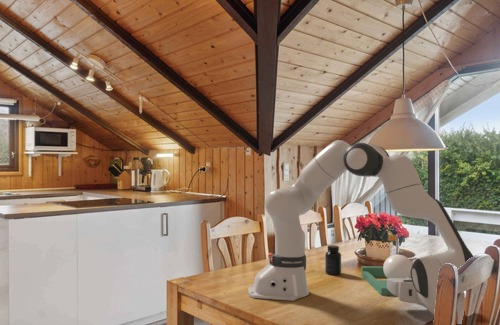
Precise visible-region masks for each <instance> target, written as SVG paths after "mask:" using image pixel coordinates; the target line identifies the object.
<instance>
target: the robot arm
mask: <svg viewBox="0 0 500 325" xmlns="http://www.w3.org/2000/svg"><path fill="white" fill-rule="evenodd" d="M347 171H348V172H350V173H351V174H352V175H354V176H357V177H364V178H370V177H373V178H374V177H376V178H377V177H378V179H379V180H380V181H381V182H382V185H383V188H384V190H385V194H386V197H387V200H388V202H389V204H390V207H391V209H392V210H393V211H394V212H395V213H397V214H399V215H401V216H403V217H408V218H412V219H423V220H426V221H429V222H431V223H432V224H434V226H436V229H437V230H438V232H439V235H440V236H441V238H442V239H443V242H444V243H445V245H446V247H447V250H446V251H442V252H439V253H434V254H429V255H426V256H423V257H419V258H416V259H415V260H414V261H413V262H412V264H413V265H412V268H411V277H406V278H388V279H387V278H386V280H387V289H388V290H389V291H390V292H391V293H392V294H394V295H393V296H395V297H398V300H399V301H401V302H404V303H410V304H416V305H419V306H420V307H424V308H426V310H427V311H428V312H430V313H431V314H432V316H433V315H434V309H435V300H436V289H437V280H438V273H439V269H440V267H441V266H442V265H443V264H445V263H451V264H454V265H455V266H456V267H457V269H458V268H460V266H462V265H463V264H464V263H465V262H466V261H467V260H468V259H469V258H471V257H473V256H474V255H473V253H472V252H471V250H470V249H469V248H468V246H467V245H466V244H465V241H464V239H463V238H462V236H461V234H460V233H459V231H458V229H457V227H456V225H455V224H454V222H453V220H452V219H451V217H450V215H449V214H448V211H447V210H446V208H445V207H444V205H443V204H442V203H441V201H440V200H438V199H437V198H434V197H431V196H430V194H428V192H427V191H426V190H425V188H424V186H423V184H422V180H421V178H420V176H419V173H418V171H417V169H416V167H415V166H414V163H413V162H412V161H411V159H410V158H409V157H408V156H406V155H404V154H394V155H389V153H388V152H387V151H386V150H385V149H384V147H381V146H379V145H376V144H373V143H366V142H358V143H354V144H352V145H351V144H350V143H348V142H346V141H345V140H340V139H337V140H334V141H332V142H331V143H329V144H328V145H326V146H325V147H324V148H323V149H322V150H321V151H319V152H318V153H317V154H316V155H315V156H314V157H313V158H312V159H311V160H310V161H309V162H308V163H307V164H306V165H305V166H304V167H303V168H302V169H301V170H300V172H299V176H298V177H297V179H296V181H295V182H294V183H293V184H292V185H290V186H288V187H281V188H277V189H275V190H273V191H271V192H270V193H268V195H267V196H266V198H265V202H264V203H265V204H264V205H265V206H264V207H265V210H266V212H267V214H268V215H269V216H270V218H271V220H272V224H273V229H274V253H273V252H269V253H268V254H267V256H268V257H267V258H268V259H269V263H268V264H267V265H266V266H265V267H264V268H262V269H261V270H259V271H258V272H256V275H255V278H254V281H253V283H252V284H251V285H249V286H248V289H247V292H248V293H247V294H248V295H249V297H251V298H253V299H266V300H278V301H292V302H293V301H296V300H298V299H301V298H304V297H306V296H308V295H309V293H310V291H309V288H308V282H307V276H306V270H307V255H306V251H305V250H306V235H305V234H306V233H305V231H304V230H303V229H302V228H303V227H302V224H301V220H300V216H303V215H305V214H307V213H308V212H309V211H310V210H311V209H312V208H313V206H314V205H315V203H316V202H317V201H318V200H319V198H320V197H321V195H322V194H323V193H324V192H326V190H327V189H328V188H330V187H331V186H332V185H333V184H334V182H336V181H337V180H338V179H339V178H340V177H341V176H342V175H343V174H344V173H346V172H347ZM434 316H435V315H434Z"/></svg>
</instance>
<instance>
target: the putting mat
mask: <svg viewBox="0 0 500 325" xmlns="http://www.w3.org/2000/svg"><path fill="white" fill-rule="evenodd" d="M388 241H389V242H394V241H395V255H399V234H389V235H388ZM383 266H384V265H383ZM383 266H381V265H380V266H377V265H376V266H375V265H373V266H370V265H367V266H365V265H364V266H362V265H361V268H360V269H361V270H360V271H361V273H360V276H361V277H362V278H363V279H364V280H365V281H366V282H367V283H369V284H370V286H371V287H372V288H373V289H374V290H375V291H377V292H378V293H379V295H381V296H395V295H394V294H392V293H391V292H390V291H389V290H388V289H387V279H385V280H384V279H380V280H379V279H377V278H387V277H386V276H385V274H384V271H383Z"/></svg>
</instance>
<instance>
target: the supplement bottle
mask: <svg viewBox="0 0 500 325" xmlns="http://www.w3.org/2000/svg"><path fill="white" fill-rule="evenodd" d="M326 250H327V251H326V252H325V253H324V254H325V255H324V258H325V259H324V260H325V262H324V264H325V267H324V268H325V270H324V271H325V274H326V275H329V276H340V275H341V274H342V253H341V252H339V250H340V246H339V245H334V244H333V245H332V244H330V245H327V249H326Z"/></svg>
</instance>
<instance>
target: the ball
mask: <svg viewBox="0 0 500 325" xmlns="http://www.w3.org/2000/svg"><path fill="white" fill-rule="evenodd" d="M412 265H413V262H412V261H411V260H410V259H409V257H407V256H405V255H402V254H398V255H396V254H392V255H390V256H388V257H387V258H386V259H385V261H384V262H383V271H384V274H385V276H386V277H385V278H386V280H387V279H388V278H406V277H411V268H412Z"/></svg>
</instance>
